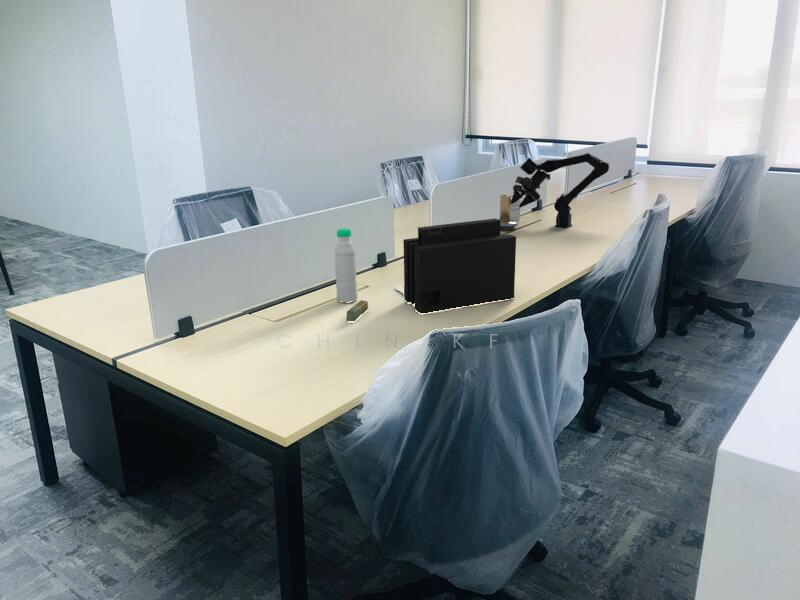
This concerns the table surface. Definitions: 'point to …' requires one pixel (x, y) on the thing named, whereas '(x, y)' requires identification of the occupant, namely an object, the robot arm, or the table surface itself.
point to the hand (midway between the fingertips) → (515, 205)
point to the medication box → (357, 310)
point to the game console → (459, 265)
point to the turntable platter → (510, 224)
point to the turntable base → (506, 228)
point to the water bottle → (345, 267)
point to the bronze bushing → (505, 208)
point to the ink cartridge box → (515, 210)
